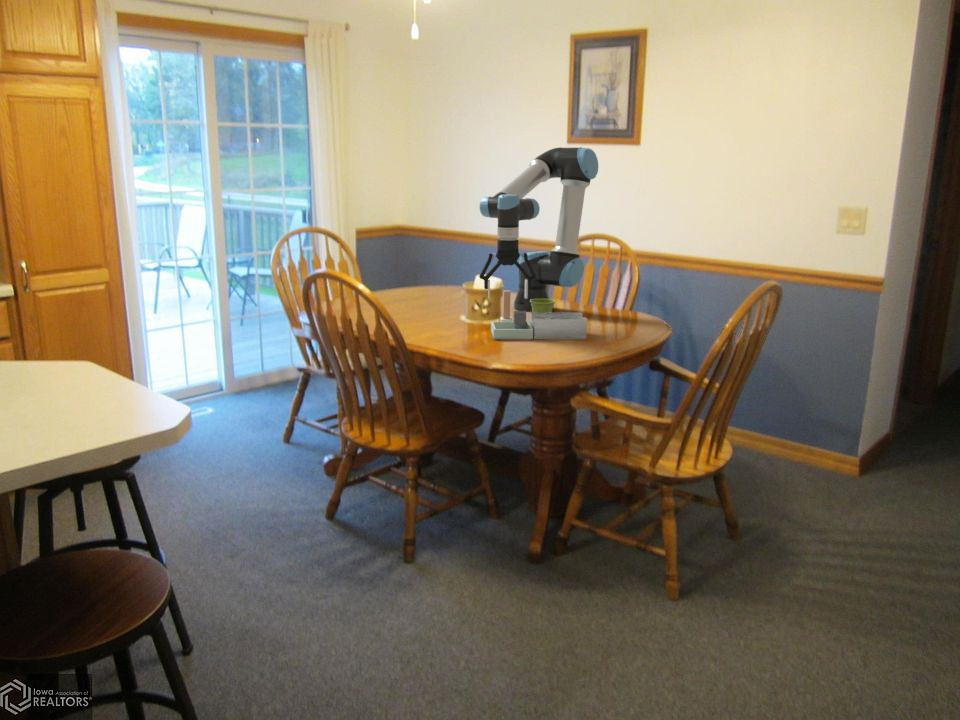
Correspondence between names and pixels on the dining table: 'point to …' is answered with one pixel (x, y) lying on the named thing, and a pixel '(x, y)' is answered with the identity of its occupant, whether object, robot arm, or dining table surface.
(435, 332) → the dining table surface
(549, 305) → the plant pot
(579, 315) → the slot block
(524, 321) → the grey cube
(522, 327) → the chip
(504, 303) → the scraper
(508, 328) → the tray
